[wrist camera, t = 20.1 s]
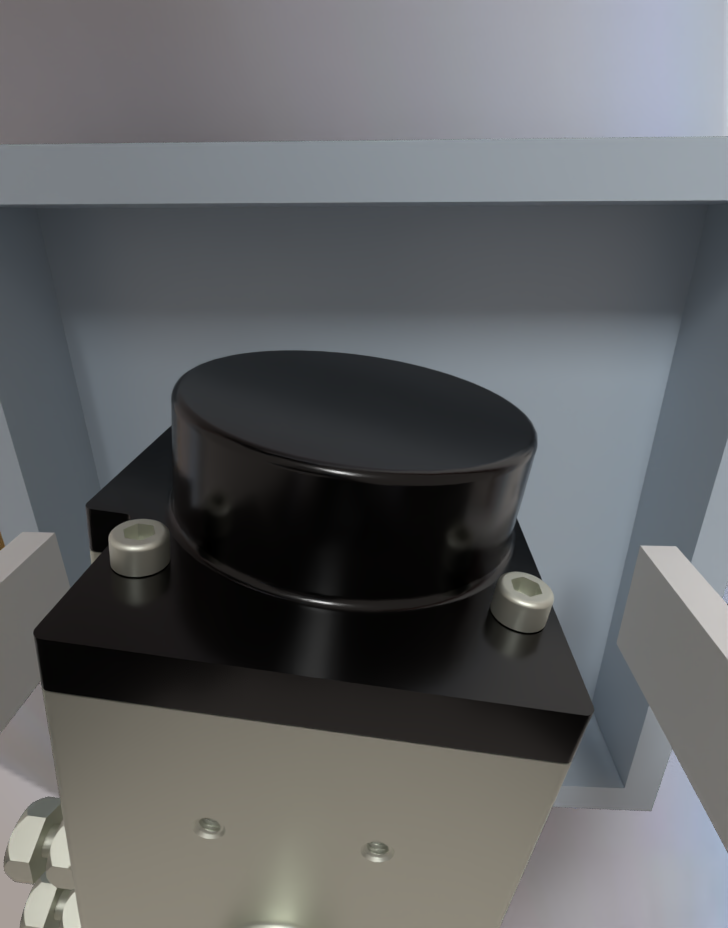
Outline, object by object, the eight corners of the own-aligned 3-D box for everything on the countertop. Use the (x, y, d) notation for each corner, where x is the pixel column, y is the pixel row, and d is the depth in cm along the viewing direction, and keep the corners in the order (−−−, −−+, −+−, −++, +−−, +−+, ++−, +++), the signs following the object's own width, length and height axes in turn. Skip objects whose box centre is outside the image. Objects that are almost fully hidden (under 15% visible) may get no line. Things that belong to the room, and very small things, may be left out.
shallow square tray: (6, 165, 14) (-127, 145, 10) (744, 158, 13) (877, 134, 9) (134, 693, 21) (84, 786, 17) (606, 709, 20) (651, 811, 17)
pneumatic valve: (468, 317, 14) (761, 701, 3) (397, 661, 19) (399, 1290, 8) (253, 285, 14) (-314, 550, 3) (237, 638, 19) (11, 1240, 8)
